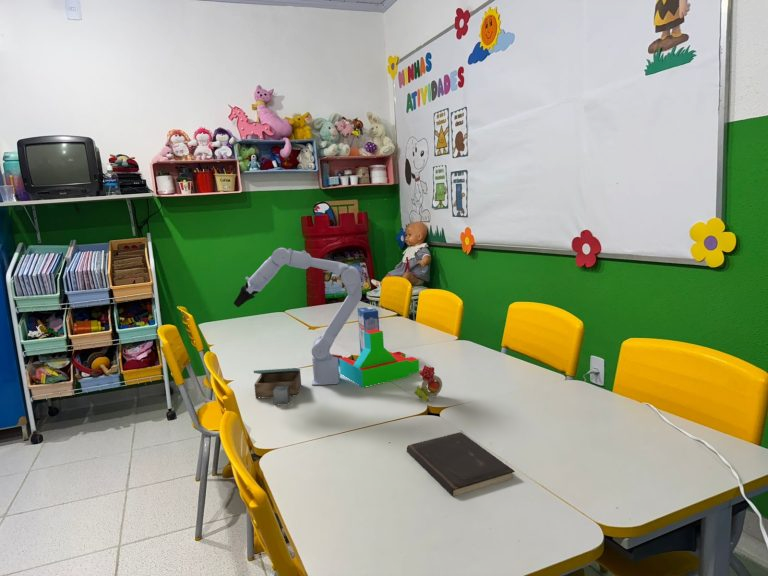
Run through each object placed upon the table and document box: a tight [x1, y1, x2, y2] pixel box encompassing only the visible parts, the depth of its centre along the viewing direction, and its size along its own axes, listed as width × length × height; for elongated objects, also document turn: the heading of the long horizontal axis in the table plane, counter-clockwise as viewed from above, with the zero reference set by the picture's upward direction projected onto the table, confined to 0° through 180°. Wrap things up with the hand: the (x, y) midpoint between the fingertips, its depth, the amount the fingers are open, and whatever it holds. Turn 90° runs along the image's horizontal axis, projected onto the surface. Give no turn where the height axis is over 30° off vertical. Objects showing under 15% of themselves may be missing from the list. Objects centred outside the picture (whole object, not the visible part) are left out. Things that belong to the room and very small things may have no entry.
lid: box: [253, 367, 301, 375], centre depth 178 cm, size 14×11×1 cm
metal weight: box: [273, 385, 291, 406], centre depth 168 cm, size 4×4×5 cm
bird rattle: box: [413, 365, 443, 402], centre depth 164 cm, size 6×11×9 cm
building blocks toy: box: [339, 329, 420, 388], centre depth 190 cm, size 19×25×18 cm
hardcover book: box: [406, 431, 516, 497], centre depth 122 cm, size 16×23×2 cm
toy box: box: [253, 370, 302, 399], centre depth 179 cm, size 14×11×5 cm
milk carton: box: [356, 306, 380, 354], centre depth 214 cm, size 10×6×20 cm, turn 17°
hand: (237, 303), depth 181 cm, fingers open, 7 cm apart
